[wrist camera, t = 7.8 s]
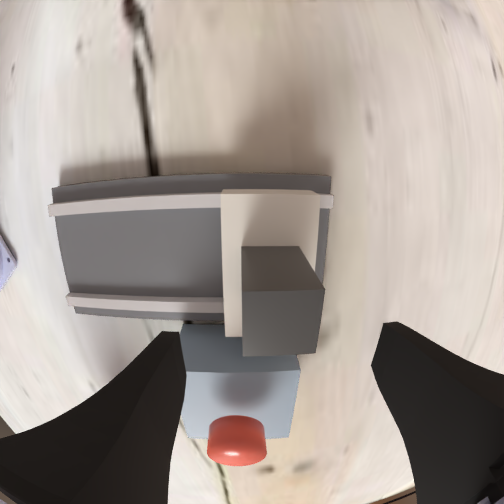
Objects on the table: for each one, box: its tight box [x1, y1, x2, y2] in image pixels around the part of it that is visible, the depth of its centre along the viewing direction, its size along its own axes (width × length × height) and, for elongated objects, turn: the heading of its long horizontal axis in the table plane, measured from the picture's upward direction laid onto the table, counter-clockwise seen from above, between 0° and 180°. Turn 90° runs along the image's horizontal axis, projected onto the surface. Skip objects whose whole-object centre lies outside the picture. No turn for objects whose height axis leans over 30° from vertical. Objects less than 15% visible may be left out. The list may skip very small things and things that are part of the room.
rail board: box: [48, 173, 334, 321], centre depth 18 cm, size 19×10×2 cm, turn 90°
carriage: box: [221, 189, 325, 357], centre depth 14 cm, size 5×8×7 cm, turn 0°
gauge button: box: [207, 415, 267, 466], centre depth 15 cm, size 4×4×2 cm
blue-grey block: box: [180, 324, 301, 439], centre depth 20 cm, size 8×8×5 cm
